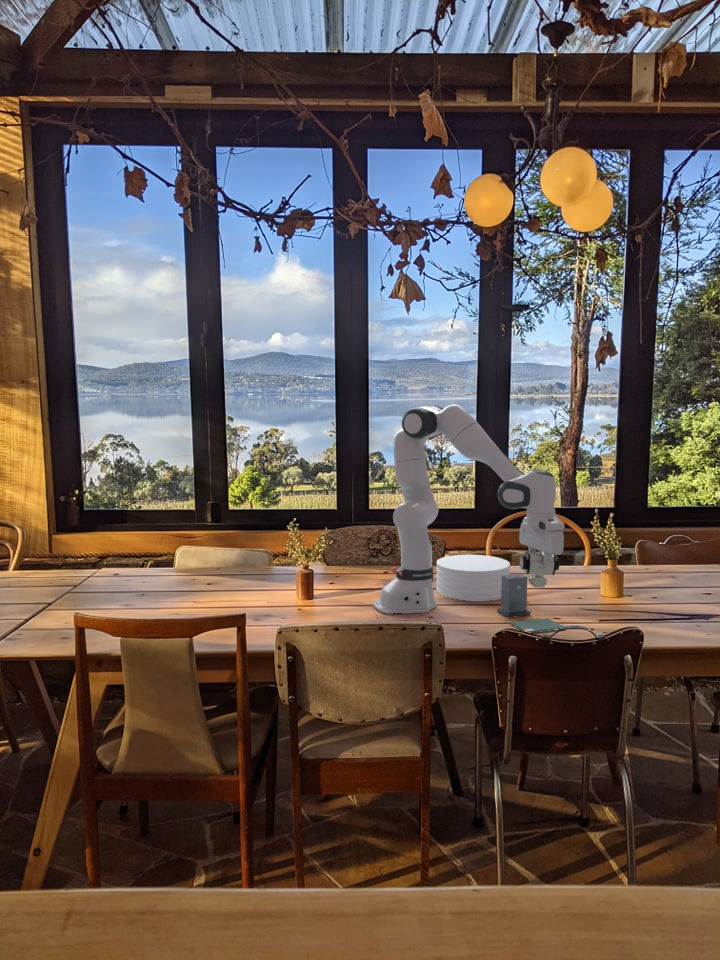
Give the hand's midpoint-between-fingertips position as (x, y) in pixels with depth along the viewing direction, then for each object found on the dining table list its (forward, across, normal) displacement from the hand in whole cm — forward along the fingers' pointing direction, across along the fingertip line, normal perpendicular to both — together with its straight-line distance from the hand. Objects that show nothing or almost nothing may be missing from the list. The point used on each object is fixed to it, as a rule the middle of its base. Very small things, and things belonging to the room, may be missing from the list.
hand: (539, 563), depth 219 cm
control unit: (+21, -14, -1) cm, 25 cm away
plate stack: (+22, -45, 0) cm, 50 cm away
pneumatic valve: (+8, -1, 0) cm, 8 cm away
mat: (+21, +1, -1) cm, 21 cm away
